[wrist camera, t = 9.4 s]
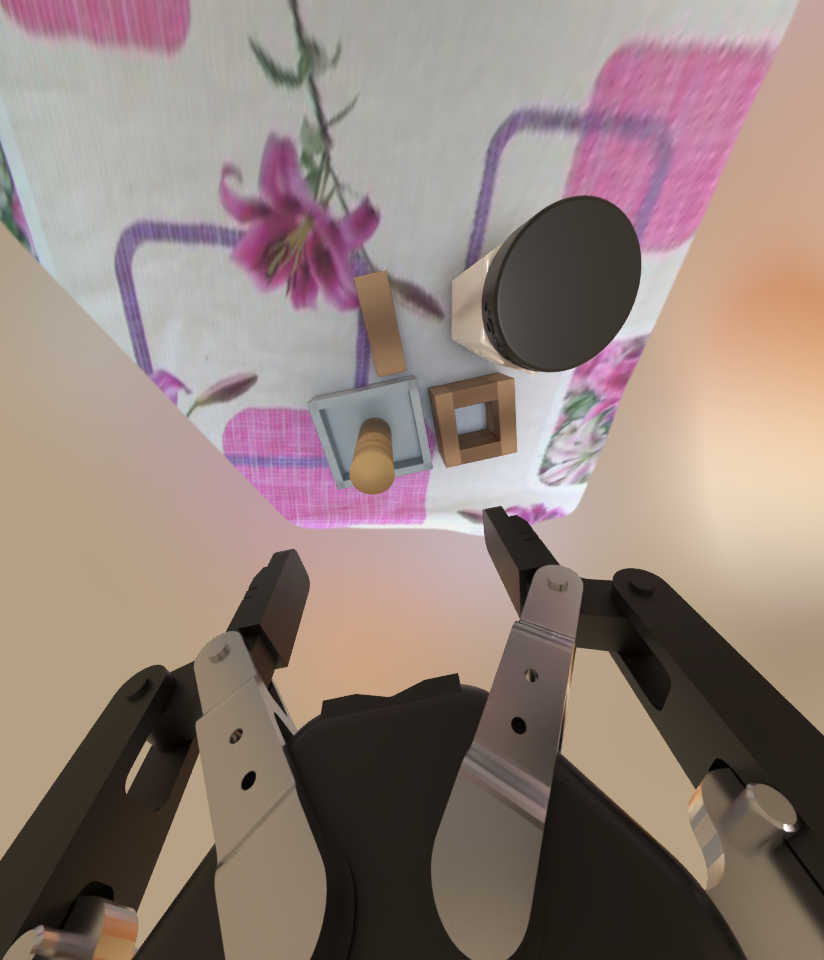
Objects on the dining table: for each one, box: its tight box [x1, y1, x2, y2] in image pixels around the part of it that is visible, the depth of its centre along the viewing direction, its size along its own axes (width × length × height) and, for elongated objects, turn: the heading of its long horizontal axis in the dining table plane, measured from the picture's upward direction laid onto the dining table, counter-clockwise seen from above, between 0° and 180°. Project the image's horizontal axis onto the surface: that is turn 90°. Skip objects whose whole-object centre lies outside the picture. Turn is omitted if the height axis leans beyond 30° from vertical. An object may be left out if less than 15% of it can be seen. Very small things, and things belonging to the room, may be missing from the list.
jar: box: [451, 195, 641, 374], centre depth 21 cm, size 9×8×12 cm
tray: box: [307, 375, 433, 490], centre depth 29 cm, size 9×10×2 cm
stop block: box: [354, 270, 406, 377], centre depth 25 cm, size 7×2×4 cm, turn 11°
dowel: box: [350, 418, 395, 494], centre depth 26 cm, size 3×3×10 cm
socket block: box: [429, 373, 517, 468], centre depth 29 cm, size 7×7×4 cm
